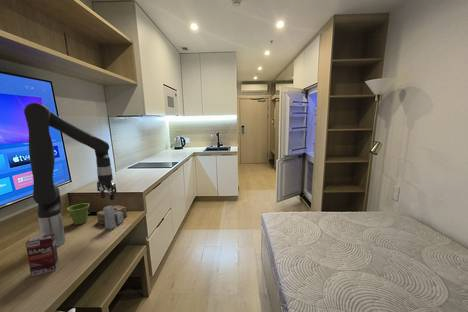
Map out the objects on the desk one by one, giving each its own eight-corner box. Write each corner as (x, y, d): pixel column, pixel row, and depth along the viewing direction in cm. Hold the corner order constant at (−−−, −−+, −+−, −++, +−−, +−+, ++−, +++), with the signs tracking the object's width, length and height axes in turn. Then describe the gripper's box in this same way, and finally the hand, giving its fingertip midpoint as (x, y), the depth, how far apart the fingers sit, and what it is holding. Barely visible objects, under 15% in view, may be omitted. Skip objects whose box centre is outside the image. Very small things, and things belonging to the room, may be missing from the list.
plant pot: (94, 217, 142) (93, 202, 140) (85, 226, 130) (82, 209, 129) (76, 218, 140) (74, 203, 139) (64, 227, 129) (62, 210, 127)
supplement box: (30, 277, 87) (24, 243, 84) (35, 270, 91) (29, 237, 88) (56, 270, 91) (51, 237, 88) (59, 264, 95) (54, 232, 92)
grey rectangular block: (118, 224, 132) (117, 214, 131) (114, 223, 134) (112, 213, 133) (123, 221, 136) (122, 212, 135) (119, 220, 138) (118, 211, 136)
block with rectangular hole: (107, 225, 131) (106, 215, 130) (98, 222, 135) (96, 212, 134) (126, 216, 144) (126, 207, 143) (117, 214, 148) (116, 205, 147)
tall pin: (109, 230, 125) (107, 208, 123) (105, 228, 127) (103, 207, 125) (115, 227, 129) (113, 206, 127) (111, 226, 130) (109, 205, 128)
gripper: (90, 173, 122) (94, 199, 124) (106, 176, 116) (109, 202, 119) (103, 171, 128) (106, 195, 131) (118, 173, 123) (121, 198, 125)
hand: (107, 198), depth 125 cm, fingers open, 8 cm apart
